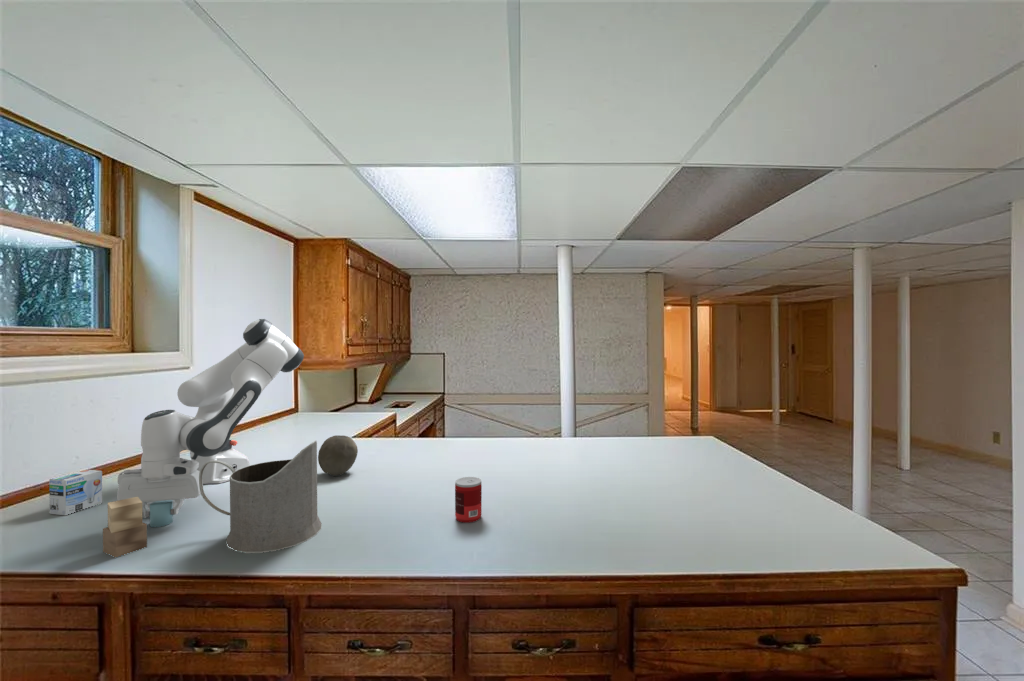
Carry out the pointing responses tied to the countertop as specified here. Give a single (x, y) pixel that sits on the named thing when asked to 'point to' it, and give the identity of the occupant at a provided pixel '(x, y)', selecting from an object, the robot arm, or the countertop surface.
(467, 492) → the canned food
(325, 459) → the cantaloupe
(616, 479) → the countertop surface
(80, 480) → the light bulb box
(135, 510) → the oak block
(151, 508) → the teal tapered block
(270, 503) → the pitcher
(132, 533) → the walnut block
